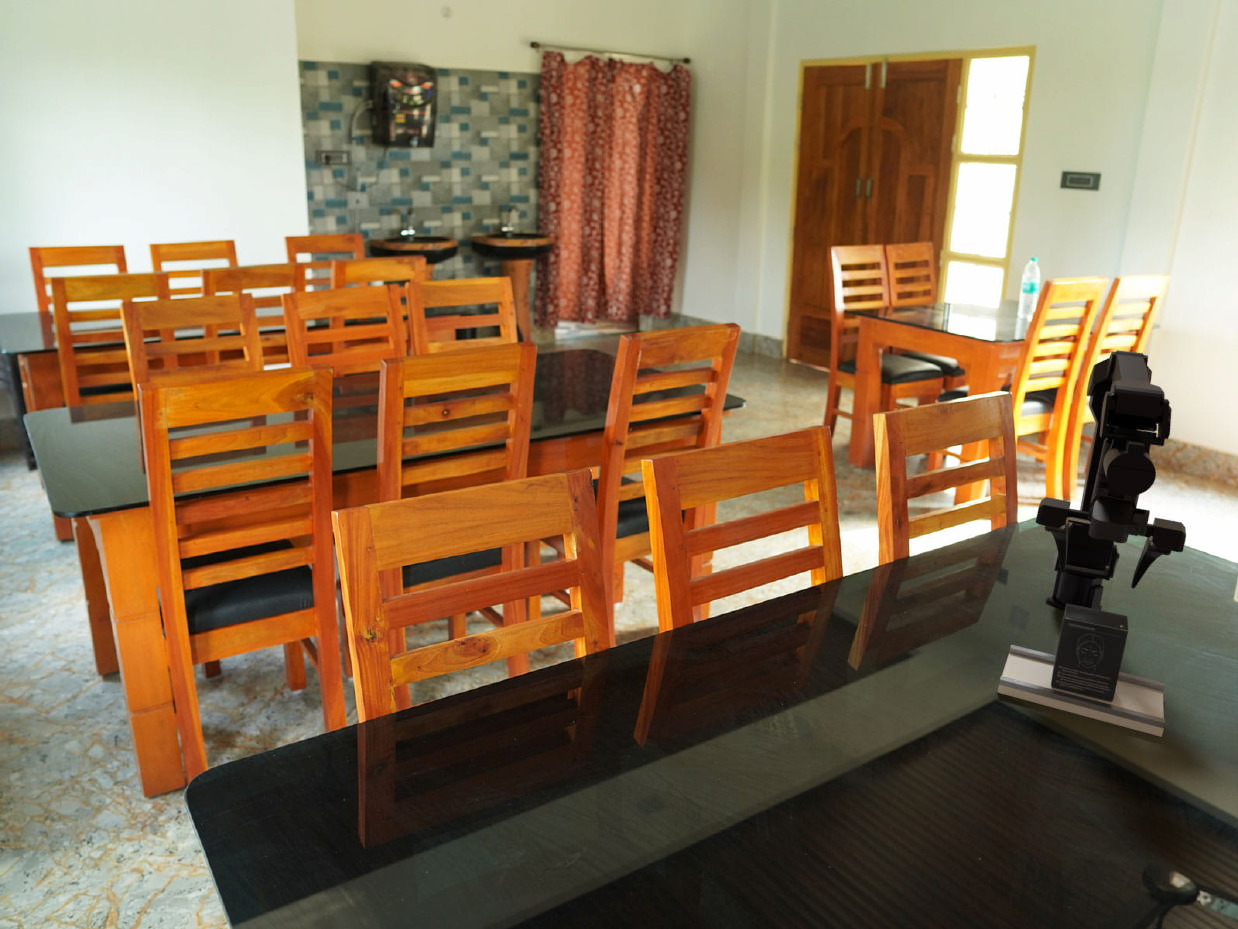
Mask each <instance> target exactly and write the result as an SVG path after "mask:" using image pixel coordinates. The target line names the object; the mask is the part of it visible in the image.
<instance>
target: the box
mask: <svg viewBox="0 0 1238 929" xmlns="http://www.w3.org/2000/svg"><path fill="white" fill-rule="evenodd" d="M1128 620H1129V618H1128V615H1124V614H1121V613H1120V614H1119V613H1115V612H1109V611H1105V610H1102V609H1101V610H1096V609H1091V608H1086V607H1081V606H1076V605H1072V604H1066V607H1065V609H1064V613H1063V617H1062V623H1061V628H1060V631H1059V636H1058V637H1059V638H1058V642H1057V646H1056V653H1055V661H1054V666H1053V673H1052V680H1051V687H1054V688H1058V689H1063V690H1067V691H1071V692H1075V693H1079V694H1084V695H1088V696H1092V697H1096V698H1100V699H1105V700H1109V701H1113V699H1114V694H1115V690H1116V685H1117V681H1118V676H1119V672H1121V666H1122V662H1123V658H1124V652H1125V647H1126V644H1127V639H1128V633H1129V623H1128V622H1129V621H1128Z"/></svg>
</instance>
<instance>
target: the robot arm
mask: <svg viewBox="0 0 1238 929" xmlns="http://www.w3.org/2000/svg"><path fill="white" fill-rule="evenodd" d="M1148 361H1149V356H1148V355H1147V354H1144V353H1143V352H1136V351H1126V350H1116V351H1111V352H1110V355H1109V357H1108V358H1106V359H1103V360H1102V361H1099V362H1096V363H1094V365H1093V366H1092V370H1091V373H1090V375H1089V378H1088V379H1089V380H1088V381H1087V389H1086V397H1089V402H1088V409H1089V410H1090V412H1091V415H1092V418H1093V420H1094V422H1095V427H1094V432H1093V439H1092V443H1091V449H1090V454H1089V460H1088V464H1087V470H1086V475H1085V482H1084V486H1083V491H1082V497H1081V501H1080V502H1081V503H1080V507H1079V510H1078V509H1074V508H1071V502H1072V501H1071V500H1070V501H1069V500H1065V499H1059V498H1055V497H1049V496H1046V497H1044V498H1042V499H1041V501H1040V502H1039V506H1038V509H1037V513H1036V519H1035V523H1036V524H1037V525H1039V526H1044V528H1043V529H1044V531H1046V532H1048V533H1051V535H1052V537H1053V539H1054V542H1055V545H1056V548H1055V550H1054V551H1055V552H1054V557H1053V571H1055V572H1056V576H1055V581H1054V586H1053V590H1052V596H1049V597H1046V598H1045V602H1047V603H1049V604H1051V605H1054V606H1056V607H1058V608H1060V609H1063V610H1065V607H1066V604H1072V605H1076V606H1081V607H1086V608H1091V609H1096V610H1101V611H1102V609H1103V606H1102V605H1101V603H1102V597H1103V592H1104V587H1105V586H1104V585H1103V580H1105V581H1109V582H1110V580H1111V578H1112V579H1113V578H1114V574H1115V570H1116V567H1117V565H1118V562H1119V559H1120V558H1121V557H1120V556H1121V554H1120V553H1119V552H1118V546H1117V544H1126V543H1127V542H1128V540H1129V536H1135V537H1144V538H1146V540H1145V543H1144V545H1143V547H1142V551H1141V554H1140V556H1139V559H1138V562H1137V565H1136V567H1135V570H1134V573H1133V576H1132V581H1131V584H1130V588H1131V589H1135V588H1137V585H1138V584H1139V582H1140V581H1141V580H1142V578H1143V576H1144V575H1145V574H1146V572H1147V571H1148V569H1149V568H1150V567H1151V565H1153V563H1154V562H1155V561H1156V560H1157V559H1158V558H1159V557H1161V556H1171V553H1172V552H1174V553H1182V552H1183V551H1184V549H1185V548H1184V547H1185V543H1186V541H1187V540H1186V539H1187V532H1186V526H1185V525H1184V524H1183V522H1182V521H1177V520H1176V521H1175V520H1172V519H1171V520H1170V519H1166V518H1160V517H1154V519H1153V523H1149V519H1150V514H1151V511H1150V510H1149V509H1142V508H1137V506H1138V503H1139V497H1140V495H1141V494H1144V493H1145V492H1147V491H1148V490H1149V489H1151V488H1152V486H1153V485H1154V483H1155V480H1156V477H1157V472H1156V467H1155V464H1154V463H1153V461H1152V458H1151V455H1150V449H1151V446H1157V447H1158V446H1159V447H1164V446H1165V440H1169V438H1170V435H1171V425H1172V410H1173V408H1172V407H1171V406H1170V403H1171V402H1170V401H1169V399H1168V398H1166V397H1165V394H1166V393H1165V391H1164V390H1163V389H1162V388H1161V386H1158V385H1156V384H1152V383H1151V382H1152V375H1153V374H1152V373H1153V371H1152V369H1151V368H1150V367H1149V365H1148V363H1149V362H1148ZM1115 543H1116V544H1115Z"/></svg>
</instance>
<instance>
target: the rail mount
mask: <svg viewBox="0 0 1238 929" xmlns="http://www.w3.org/2000/svg"><path fill="white" fill-rule="evenodd" d="M1055 656H1056V654H1055V655H1054V654H1050V653H1047V652H1042V651H1039V650H1035V649H1030V648H1028V647H1023V646H1018V645H1014V644H1011V645H1010V648H1009V653H1008V656H1007V659H1006V662H1005V665H1004V668H1003V672H1002V675H1000V678H999V683H998V688H997V693H999V694H1001V695H1007V696H1010V697H1013V698H1016V699H1021V700H1023V701H1028V702H1031V703H1035V704H1039V705H1042V706H1046V707H1049V708H1054V709H1057V710H1061V711H1065V712H1068V713H1071V714H1076V715H1080V716H1082V717H1086V718H1091V719H1094V720H1097V721H1101V722H1105V723H1108V724H1112V725H1116V726H1120V727H1124V728H1127V729H1132V730H1134V731H1138V732H1141V733H1146V734H1150V735H1153V736H1157V737H1161V738H1162V737H1163V735H1164V734H1163V733H1164V730H1165V724H1166V718H1164V689H1165V682H1162V681H1159V680H1155V679H1150V678H1147V677H1142V676H1139V675H1134V674H1131V673H1127V672H1122V671H1119V676H1118V681H1117V685H1116V690H1115V694H1114V699H1113V701H1109V700H1105V699H1100V698H1096V697H1092V696H1088V695H1084V694H1079V693H1075V692H1071V691H1067V690H1063V689H1058V688H1054V687H1051V680H1052V673H1053V666H1054V661H1055Z"/></svg>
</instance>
